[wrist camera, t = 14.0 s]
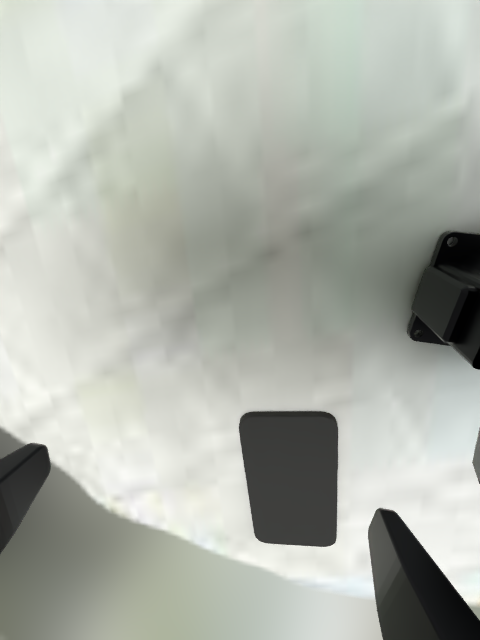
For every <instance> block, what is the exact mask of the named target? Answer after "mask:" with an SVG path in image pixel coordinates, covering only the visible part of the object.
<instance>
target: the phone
mask: <svg viewBox="0 0 480 640" xmlns="http://www.w3.org/2000/svg"><path fill="white" fill-rule="evenodd" d="M239 433H240V441H241V446H242V454H243V460H244V468H245V473H246V480H247V487H248V493H249V500H250V507H251V514H252V520H253V527H254V533H255V536H256V538H257V539H258V540H259V541H261V542H264V543H270V544H285V545H301V546H318V547H327V546H331V545H333V544H334V543H335V541H336V531H337V470H338V427H337V423H336V420H335V418H334V417H333V416H332V415H331V414H329V413H326V412H317V411H293V412H249V413H246V414H244V415H243V416H242V417H241V419H240V424H239Z"/></svg>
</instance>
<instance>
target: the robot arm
mask: <svg viewBox="0 0 480 640" xmlns="http://www.w3.org/2000/svg"><path fill="white" fill-rule="evenodd" d="M451 237H453V238H454V242H453V243H452V244H450V245H448V244H447V241H448V239H449V238H451ZM412 311H413V312H414V313H413V316H412V319H411V322H410V324H409V327H408V331H407V333H408V336H409V337H410V338H411V339H412V340H414V341H419V342H426V343H434V344H441V345H448V346H452V347H453V348H454V349H455V350H456V351H457V352H458V353H459V354H460V355H461V356H462V357H463V358H464V359H465V360H466V361H467V362H468V363H469V364H470V365H471V366H472V367H473V368H475V369H479V370H480V234H475V233H466V232H457V231H448V232H446V233H444V234H443V235H442V236H441V237H440V239H439V242H438V244H437V247H436V250H435V253H434V256H433V259H432V262H431V264H430V266H429V267H428V268H427V269H425V271H424V274H423V277H422V280H421V283H420V286H419V288H418V291H417V294H416V297H415V300H414V303H413V306H412ZM417 330H420V333H419V334H417V335H414V333H415V331H417ZM472 463H473V466H474V469H475V472H476V475H477V478H478V481H479V484H480V428H479V433H478V437H477V442H476V447H475V452H474V457H473V462H472ZM50 469H51V463H50V458H49V453H48V449H47V447H46V446H45V445H43V444H37V443H30V444H27V445H25V446H23V447H21V448H19V449H18V450H16V451H14V452H12V453H10V454H8V455H6V456H5V457H3V458H1V459H0V554H1V552H2V551H3V549H4V548H5V547H6V545H7V544H8V542H9V541H10V539H11V538H12V536H13V535H14V533H15V532H16V530H17V528H18V527H19V525H20V524H21V522H22V520H23V518H24V517H25V515H26V513H27V511H28V510H29V508H30V506H31V504H32V503H33V501H34V499H35V497H36V496H37V494H38V492H39V491H40V489H41V487H42V485H43V484H44V482H45V480H46V478H47V477H48V475H49V473H50ZM368 539H369V548H370V556H371V565H372V573H373V581H374V590H375V598H376V605H377V612H378V617H379V622H380V627H381V632H382V637H383V640H480V620H479V619H478V618H477V616H476V615H475V614H474V613H473V611H472V610H471V609H470V607H469V606H468V605H467V603H466V602H465V601H464V600H463V598H462V597H461V596H460V594H459V593H458V592H457V590H456V589H455V588H454V587H453V585H452V584H451V583H450V581H449V580H448V579H447V577H446V576H445V575H444V574H443V572H442V571H441V570H440V568H439V567H438V566H437V565H436V563H435V562H434V561H433V559H432V558H431V557H430V555H429V554H428V553H427V552H426V550H425V549H424V548H423V546H422V545H421V544H420V542H419V541H418V540H417V539H416V537H415V536H414V535H413V533H412V532H411V531H410V529H409V528H408V527H407V526H406V524H405V523H404V522H403V520H402V519H401V518H400V516H399V515H398V514H397V513H396V512H395V511H393V510H388V509H383V508H379V509H377V510H376V512H375V514H374V517H373V519H372V521H371V524H370V526H369V530H368Z"/></svg>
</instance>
